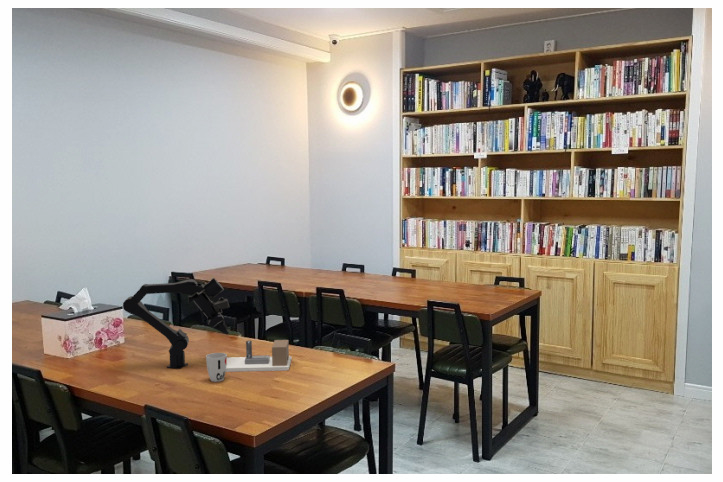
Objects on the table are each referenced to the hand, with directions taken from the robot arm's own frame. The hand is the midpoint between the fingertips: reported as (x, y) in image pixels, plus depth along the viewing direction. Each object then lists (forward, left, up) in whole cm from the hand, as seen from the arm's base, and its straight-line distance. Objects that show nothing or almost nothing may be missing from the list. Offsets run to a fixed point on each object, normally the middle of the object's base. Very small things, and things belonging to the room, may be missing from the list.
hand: (227, 331), depth 266 cm
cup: (-22, -8, -14) cm, 27 cm away
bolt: (0, -14, -12) cm, 19 cm away
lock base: (0, -13, -14) cm, 19 cm away
